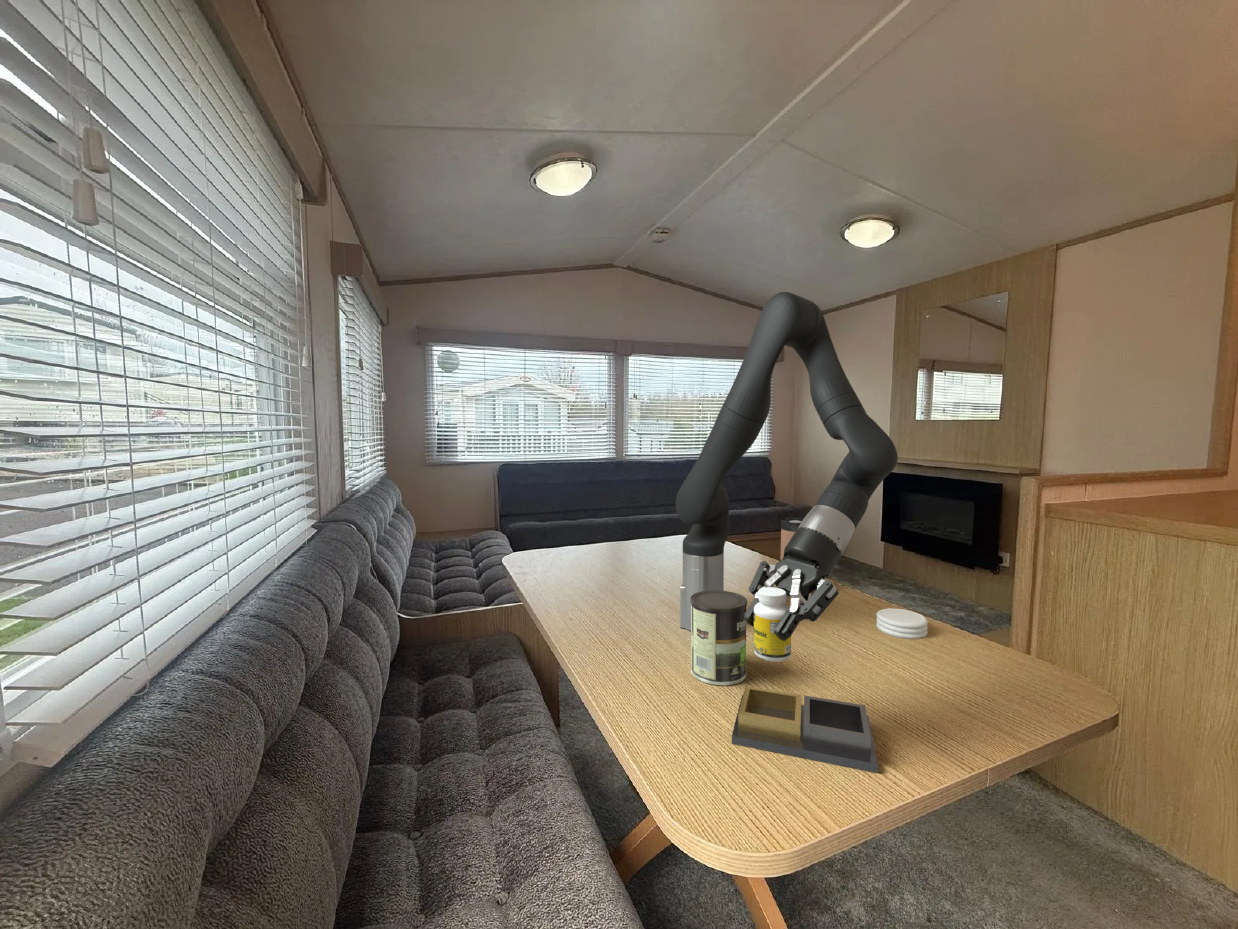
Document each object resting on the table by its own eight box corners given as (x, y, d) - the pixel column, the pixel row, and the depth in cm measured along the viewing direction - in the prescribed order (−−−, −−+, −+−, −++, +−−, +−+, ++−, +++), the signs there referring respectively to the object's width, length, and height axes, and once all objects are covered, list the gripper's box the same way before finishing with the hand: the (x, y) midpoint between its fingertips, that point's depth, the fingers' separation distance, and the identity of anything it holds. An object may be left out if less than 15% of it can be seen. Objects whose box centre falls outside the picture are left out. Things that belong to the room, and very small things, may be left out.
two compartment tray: (731, 743, 75) (731, 719, 75) (742, 701, 86) (742, 680, 86) (877, 773, 68) (878, 746, 68) (868, 723, 80) (868, 700, 79)
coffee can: (749, 664, 100) (750, 592, 98) (742, 690, 90) (743, 611, 89) (696, 656, 103) (696, 587, 102) (684, 680, 94) (684, 604, 92)
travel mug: (813, 597, 137) (815, 522, 136) (784, 597, 137) (786, 522, 136) (804, 588, 145) (805, 517, 143) (776, 588, 145) (777, 517, 143)
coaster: (938, 638, 111) (939, 622, 111) (895, 641, 110) (896, 625, 109) (906, 621, 121) (906, 606, 121) (866, 623, 119) (867, 608, 119)
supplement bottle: (748, 648, 81) (748, 586, 80) (782, 646, 81) (783, 584, 80) (761, 664, 75) (761, 597, 74) (797, 661, 76) (797, 596, 75)
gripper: (773, 518, 86) (717, 602, 82) (849, 534, 74) (788, 633, 69) (795, 546, 90) (742, 627, 85) (871, 565, 77) (815, 662, 72)
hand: (763, 629), depth 77 cm, fingers closed on supplement bottle, 5 cm apart
